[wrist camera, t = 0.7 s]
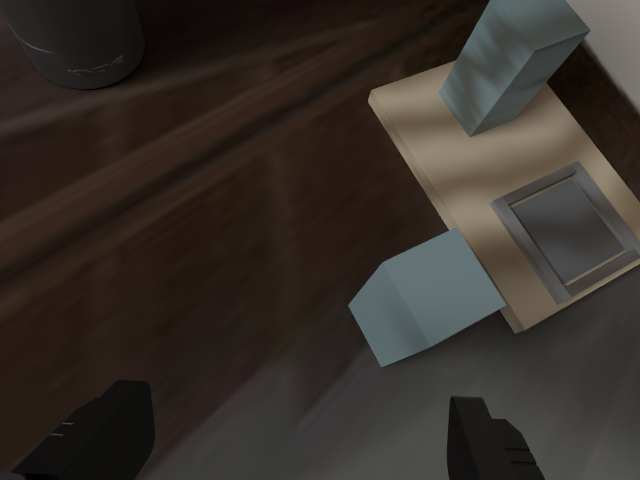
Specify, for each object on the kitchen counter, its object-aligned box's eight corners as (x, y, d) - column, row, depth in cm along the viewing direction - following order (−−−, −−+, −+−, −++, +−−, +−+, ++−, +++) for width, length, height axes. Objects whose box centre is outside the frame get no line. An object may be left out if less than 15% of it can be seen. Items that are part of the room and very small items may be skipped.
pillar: (348, 305, 34) (382, 262, 25) (404, 277, 35) (456, 227, 26) (381, 367, 33) (431, 346, 23) (438, 336, 34) (506, 305, 25)
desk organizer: (367, 101, 41) (406, -11, 30) (505, 52, 45) (581, -61, 35) (514, 333, 35) (628, 295, 24) (657, 250, 39) (807, 187, 29)
